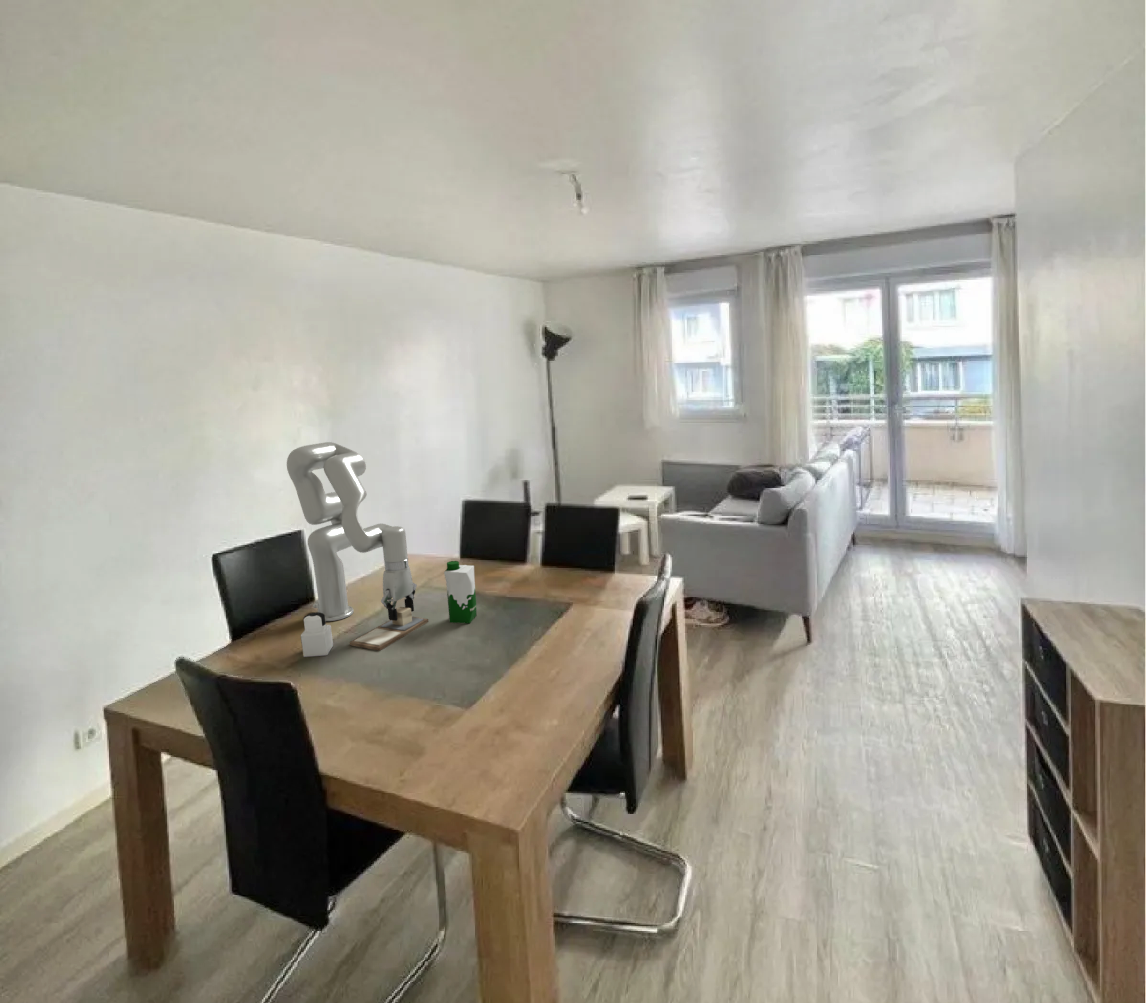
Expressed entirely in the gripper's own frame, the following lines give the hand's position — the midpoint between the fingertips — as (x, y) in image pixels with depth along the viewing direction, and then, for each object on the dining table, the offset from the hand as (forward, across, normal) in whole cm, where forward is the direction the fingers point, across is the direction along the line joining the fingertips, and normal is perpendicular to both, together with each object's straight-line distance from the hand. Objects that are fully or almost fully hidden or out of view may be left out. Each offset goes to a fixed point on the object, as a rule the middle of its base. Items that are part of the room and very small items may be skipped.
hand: (401, 615), depth 218 cm
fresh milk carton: (+4, -12, +16) cm, 20 cm away
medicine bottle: (+4, +25, -12) cm, 28 cm away
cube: (+3, 0, 0) cm, 3 cm away
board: (+4, +6, 0) cm, 7 cm away
